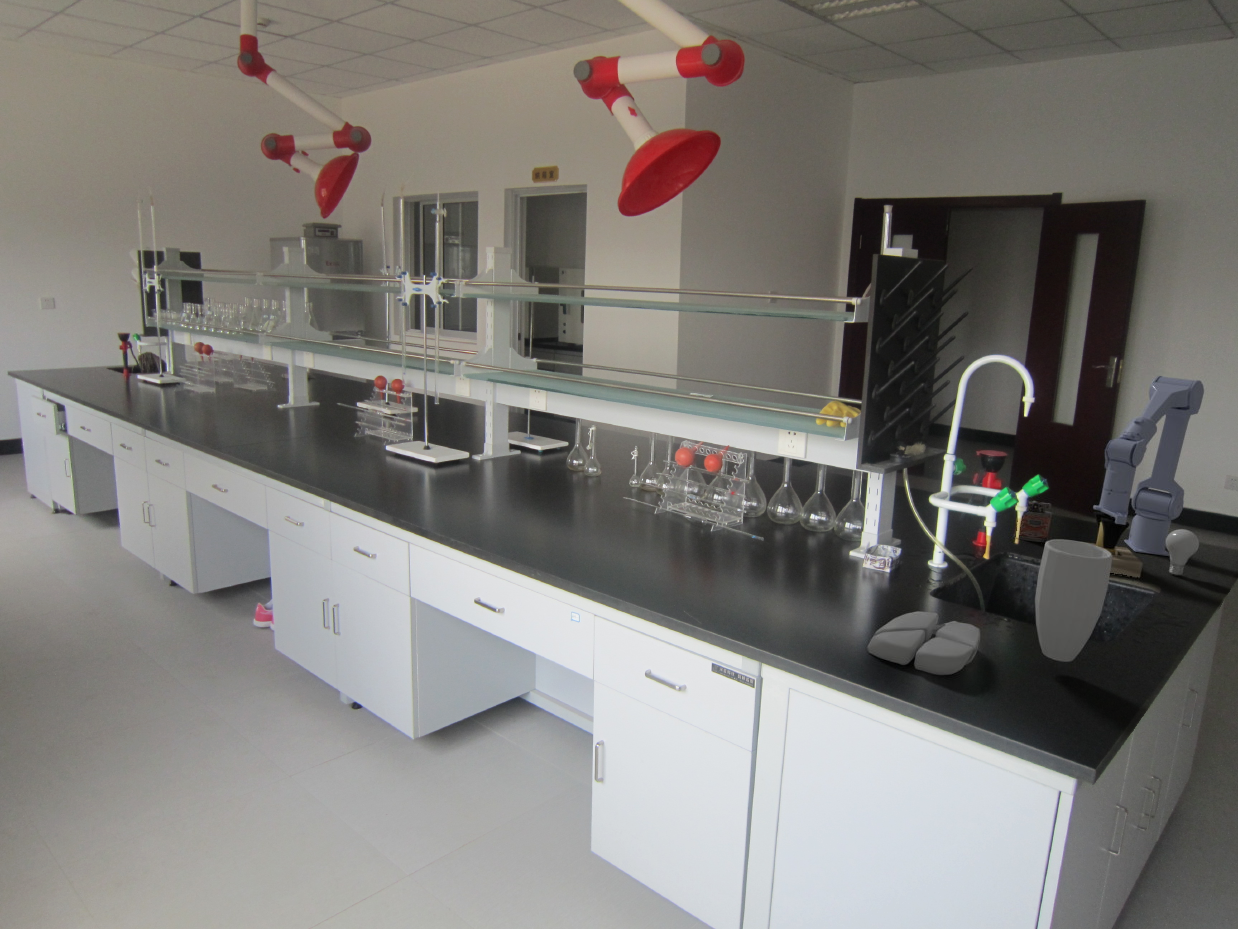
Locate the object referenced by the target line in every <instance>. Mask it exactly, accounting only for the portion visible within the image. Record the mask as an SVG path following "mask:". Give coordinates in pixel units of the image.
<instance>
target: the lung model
mask: <svg viewBox="0 0 1238 929" xmlns="http://www.w3.org/2000/svg"><path fill="white" fill-rule="evenodd" d="M939 618H940V616H939V615H938V613H937V612H928V611H913V612H908V613H905V614H902V615H900V616H897V617H895V618H893V619H892V620H890V621H889V622H887V623H886V624H885V625H883V626H882V627H880V628H879V629H877V630H876V631H875V633H874V635H872V636H873V637H871V639H870V641H869V643H868V645H867V651H868V653H869V654H871V655H873V656H875V657H877V658H880V659H882V660H886V661H889V662H892V663H896V664H899V665H902V666H905V665H908V664H909V663H910V662H912V660H913V659H914V663H913V665H914V668H915V670H919V671H922V672H925V673H928V674H933V675H936V676H948V675H952V674H955V673H957V672H960V671H961V670H962V669H963V668H964V666H967V665H968V664H969V663H972V661H973V659H974V658H975V656H976V654H977V652H978V648H979V645H980V641H981V629H980V628H978V627H976V626H974V625H973V624H970V623H963V622H958V621H956V620H952V621H949V622H946V623H942V624H938V621H939ZM934 632H936V633H935V637H932V635H933V634H934ZM931 637H932V638H931Z"/></svg>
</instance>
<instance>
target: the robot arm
mask: <svg viewBox="0 0 1238 929" xmlns="http://www.w3.org/2000/svg"><path fill="white" fill-rule="evenodd" d="M1148 389H1149V390H1148V396H1149V400H1148V403H1147V404H1146V406H1145V408H1144V409H1143V411H1142V413H1141V415H1140V416H1135V417H1133V418H1132V419H1131V420H1130V422H1129V423H1128V424H1127V425H1126V427H1125V428H1124V429H1123V430H1122V432H1121V434H1120V435H1119V436H1118V437H1116V438H1114V439H1111V440H1109V441H1108V443H1107V444H1106V447H1105V449H1104V459H1105V461H1104V462H1105V463H1104V469H1106V470H1105V476H1104V479H1103V480H1104V481H1103V486H1102V489H1101V496H1100V500H1099V504H1098V505H1095V504H1094V505H1093V507H1092V508H1093V510H1096V511H1093V515H1094V518H1095V521H1096V528H1097V529H1096V530H1097V534H1096V535H1098V532H1099V527H1100V522H1102V526H1103V548H1105V549H1113V550H1114V548H1115V546H1116V547H1117V544H1118V542H1119V540H1120V538H1121V537H1122V535H1123V534H1124V533H1125V531H1126V530H1127V529H1128V528H1129V527H1130V523H1129V522H1127V520H1128V514H1129V504H1130V500H1131V507H1132V509H1133V510H1134V511H1135V512H1134V514H1136V515H1135V516H1133V518H1132V521H1131V527H1130V530H1129V536H1128V539H1124V540H1123V541H1124V543H1126V545H1127V546H1128V547H1129V548H1130V549H1131V550H1133V552H1137V553H1141V554H1142V553H1143V554H1151V555H1157V556H1158V555H1159V556H1164V557H1165V556H1166V557H1170V554H1169V551H1168V550H1166V543H1165V542H1166V538H1167V536H1168V535H1169V531H1170V528H1171V522H1172V520H1175V519H1177V518H1178V517H1179V516H1180V515H1181V513H1182V511H1183V508H1184V502H1185V501H1184V496H1185V489H1183V487H1182V486H1181V485H1180V484H1179V483H1178V482H1177V481H1176V480H1175V477H1176V474H1177V470H1178V464H1179V461H1180V457H1181V452H1182V448H1183V445H1184V442H1185V438H1186V437H1185V436H1186V434H1187V429H1188V424H1189V422H1190V419H1191V416H1193V415H1197V414H1199V411H1200V409H1201V407H1202V406H1201V405H1202V401H1203V398H1204V394H1205V389H1204V384H1203V383H1202V381H1201V380H1198V379H1197V380H1194V379H1193V380H1192V379H1183V378H1176V377H1168V376H1162V375H1157V376H1155V377H1154V378H1153V380H1151V383H1150V386H1149V388H1148ZM1164 416H1165V418H1164V423H1163V427H1162V430H1161V435H1160V440H1159V443H1158V447H1157V450H1156V454H1155V459H1154V464H1153V467H1152V472H1151V474H1150V477H1148V478H1144V479H1142V480H1140V481H1139V482H1138V484H1137V486H1136V489H1135V491H1134V493H1133V495H1132V498H1131V494H1132V491H1133V485H1134V481H1135V475H1136V471H1137V470H1136V469H1137V467H1138V466H1140V465H1141V463H1142V462H1143V460H1144V456H1145V454H1146V452H1147V450H1148V449H1147V446H1148V444H1149V443H1150V441H1151V440H1152V439H1153V437H1154V436H1155V434H1156V433H1157V431H1158V427H1157V424H1158V423H1159V421H1160V420H1161V419H1162V418H1163V417H1164ZM1099 511H1100V512H1099Z"/></svg>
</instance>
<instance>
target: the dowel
mask: <svg viewBox="0 0 1238 929" xmlns="http://www.w3.org/2000/svg"><path fill="white" fill-rule="evenodd" d="M1095 544H1096V546H1098V547H1101V548H1103V526H1102V522H1100V527H1099V532H1098V534H1097V540H1096V543H1095ZM1116 547H1117V545H1116V546H1115V548H1116ZM1115 548H1114V550H1113V549H1106V550H1107V551H1109V552H1110V553H1111V554H1112V555H1114V553H1115ZM1103 549H1105V548H1103Z"/></svg>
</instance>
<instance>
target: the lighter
mask: <svg viewBox="0 0 1238 929" xmlns="http://www.w3.org/2000/svg"><path fill="white" fill-rule="evenodd" d="M1028 502H1029V503H1028V509H1029V512H1027V513H1025V514H1024V515H1023V516H1022V521H1021V527H1020V535H1019V539H1018V540H1023V541H1029V542H1038V543H1039V542H1041V543H1046V542H1047V541H1049V530H1050V525H1051V520H1052V517H1053V514H1054V513H1053V512H1051V511H1047V510H1046V509H1048V510H1051V508H1052V504H1051V503H1050V502H1049V503H1048V502H1047V503H1046V502H1038V501H1036V500H1033V501H1028ZM1017 522H1018V518H1017V520H1016V523H1017ZM1016 531H1017V524H1016V526H1015V531H1014V534H1013V538H1014V537H1016Z"/></svg>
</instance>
